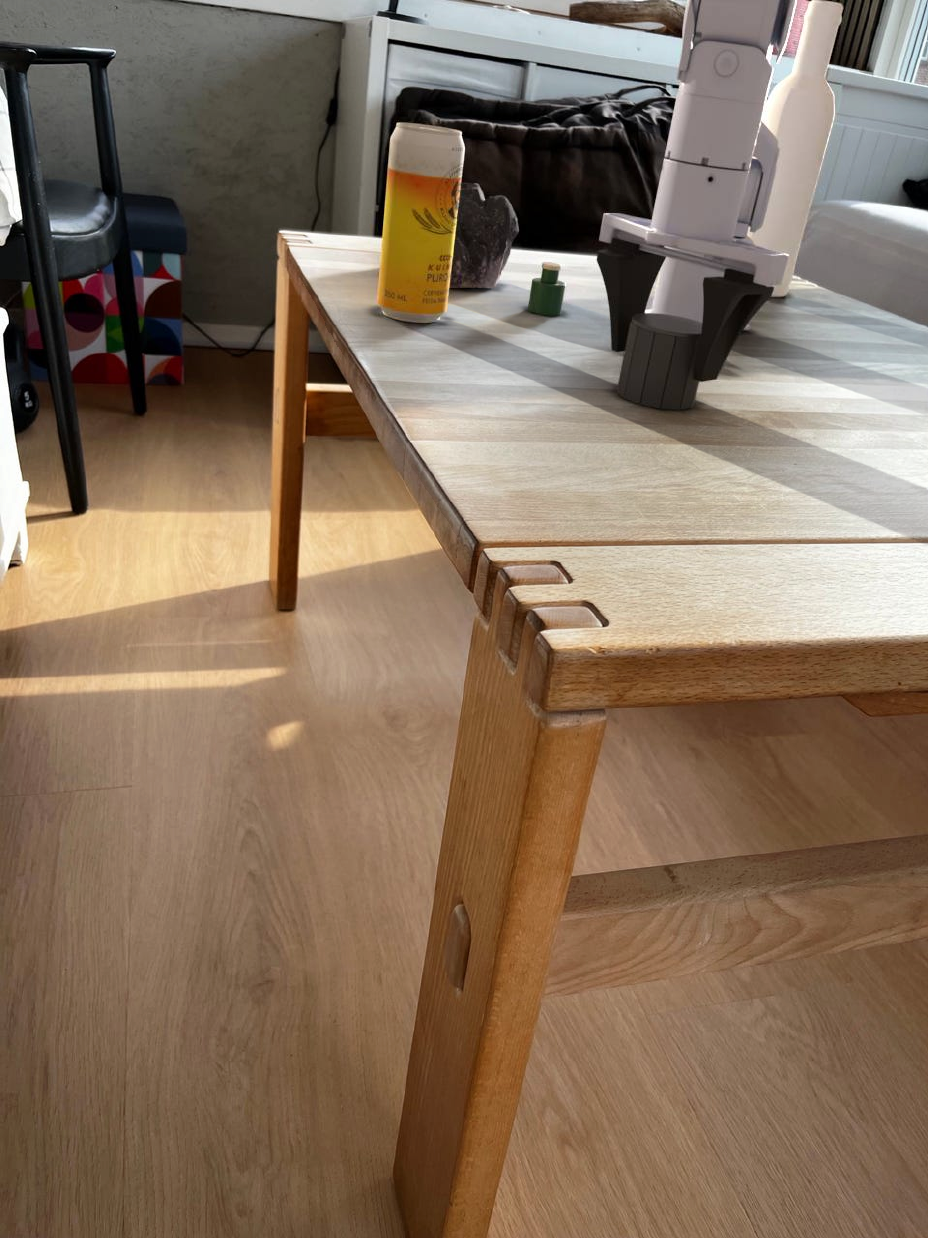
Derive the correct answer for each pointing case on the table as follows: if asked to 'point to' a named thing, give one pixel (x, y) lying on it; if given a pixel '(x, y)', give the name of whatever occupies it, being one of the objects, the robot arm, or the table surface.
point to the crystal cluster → (481, 238)
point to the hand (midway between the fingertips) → (662, 364)
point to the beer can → (420, 221)
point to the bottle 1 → (547, 291)
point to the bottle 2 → (799, 136)
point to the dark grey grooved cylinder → (660, 361)
